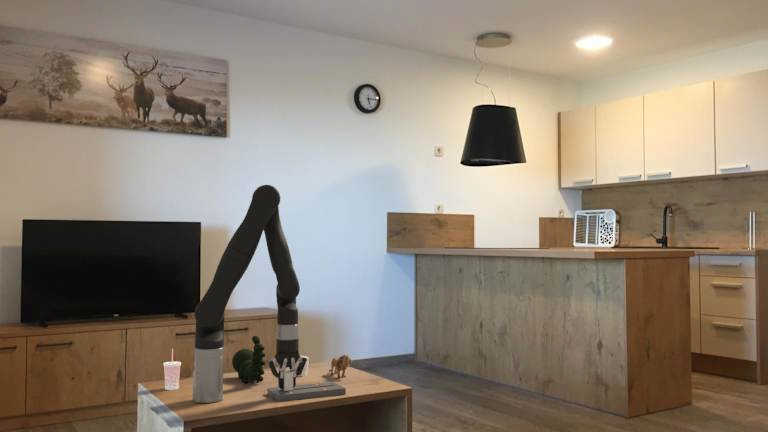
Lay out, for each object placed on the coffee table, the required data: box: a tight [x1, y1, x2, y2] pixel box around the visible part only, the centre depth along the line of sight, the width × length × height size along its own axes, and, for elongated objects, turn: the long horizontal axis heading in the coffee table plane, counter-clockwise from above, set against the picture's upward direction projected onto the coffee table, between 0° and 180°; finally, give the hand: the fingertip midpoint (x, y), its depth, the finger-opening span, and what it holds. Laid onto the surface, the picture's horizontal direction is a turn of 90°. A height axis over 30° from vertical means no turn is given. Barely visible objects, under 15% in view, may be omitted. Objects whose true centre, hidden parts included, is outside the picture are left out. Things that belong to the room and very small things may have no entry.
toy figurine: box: [231, 335, 266, 384], centre depth 250 cm, size 9×19×25 cm
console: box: [266, 381, 347, 403], centre depth 228 cm, size 24×12×2 cm, turn 117°
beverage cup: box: [163, 348, 182, 391], centre depth 236 cm, size 6×6×14 cm
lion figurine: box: [328, 354, 353, 379], centre depth 259 cm, size 15×5×9 cm, turn 36°
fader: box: [282, 369, 293, 391], centre depth 225 cm, size 3×4×8 cm
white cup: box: [295, 355, 310, 377], centre depth 261 cm, size 7×7×7 cm
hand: (287, 388), depth 225 cm, fingers closed on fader, 3 cm apart
